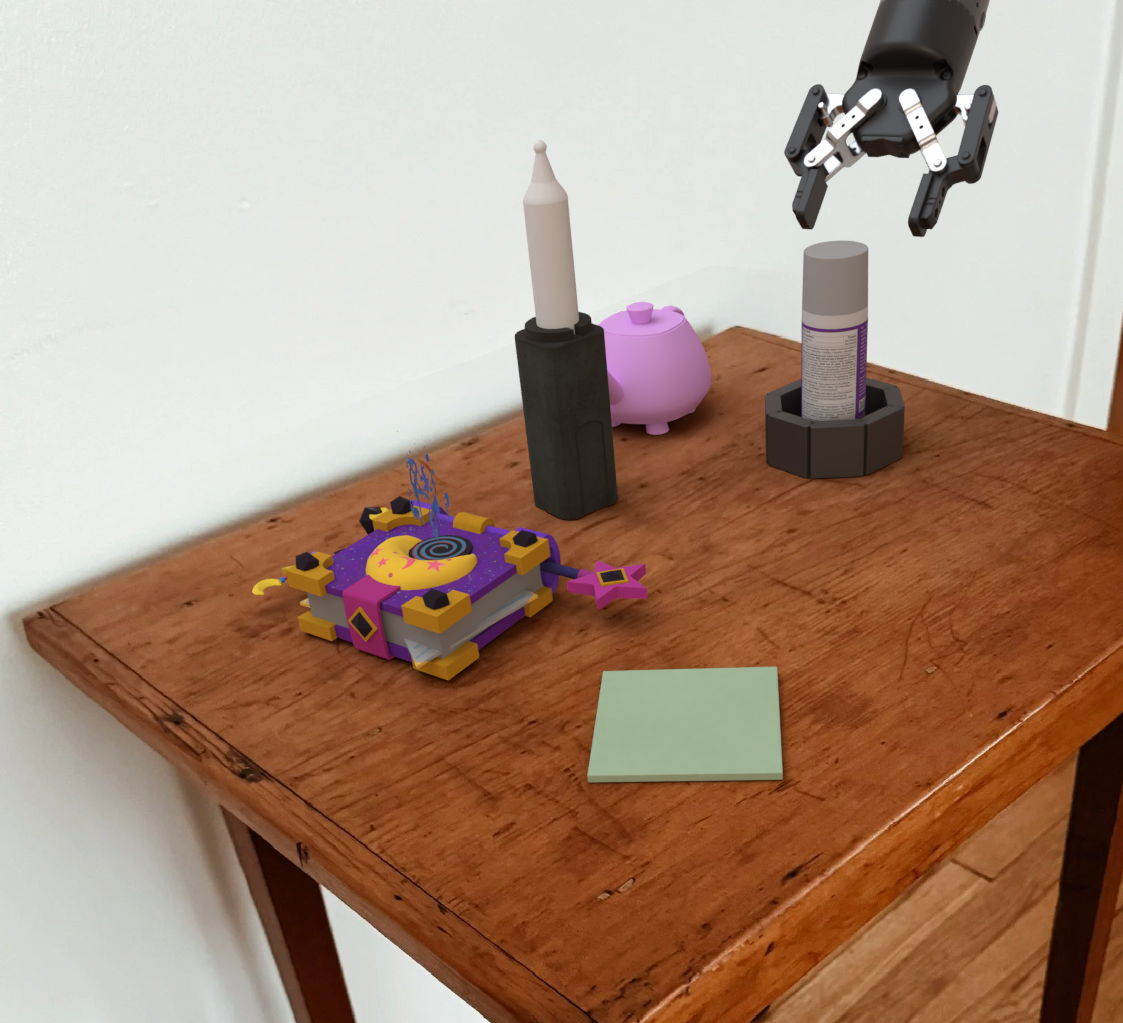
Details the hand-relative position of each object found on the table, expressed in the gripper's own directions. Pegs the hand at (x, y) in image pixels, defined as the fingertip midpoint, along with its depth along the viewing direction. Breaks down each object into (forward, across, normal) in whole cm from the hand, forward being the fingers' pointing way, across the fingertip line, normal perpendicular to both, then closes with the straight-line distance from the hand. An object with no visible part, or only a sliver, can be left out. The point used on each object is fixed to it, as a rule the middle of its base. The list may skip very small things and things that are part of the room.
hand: (858, 227), depth 93 cm
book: (+37, -12, -15) cm, 41 cm away
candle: (+24, -13, -2) cm, 28 cm away
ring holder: (+14, 0, +8) cm, 16 cm away
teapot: (+14, -17, +8) cm, 23 cm away
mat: (+39, +8, -18) cm, 44 cm away
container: (+14, 0, +8) cm, 16 cm away
